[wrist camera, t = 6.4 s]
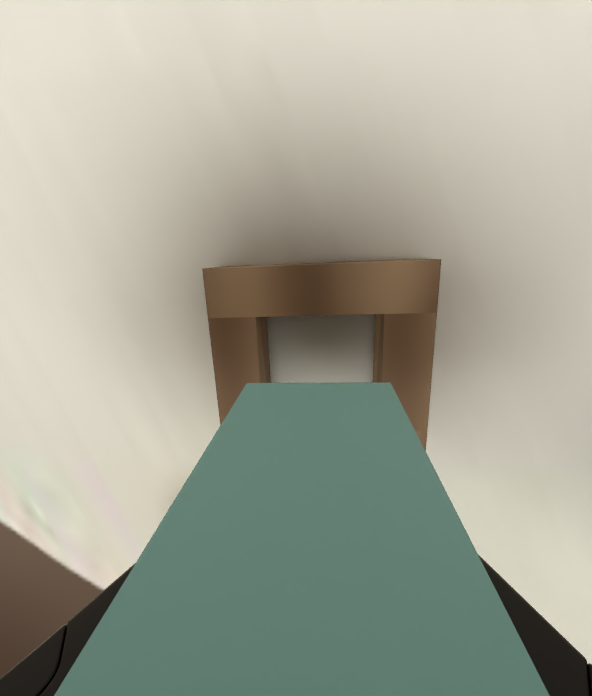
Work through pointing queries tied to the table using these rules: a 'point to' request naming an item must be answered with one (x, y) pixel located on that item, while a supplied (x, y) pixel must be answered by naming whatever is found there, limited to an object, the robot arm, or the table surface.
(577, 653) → the robot arm
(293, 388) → the teal peg
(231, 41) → the table surface
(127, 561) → the table surface
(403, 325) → the socket block
